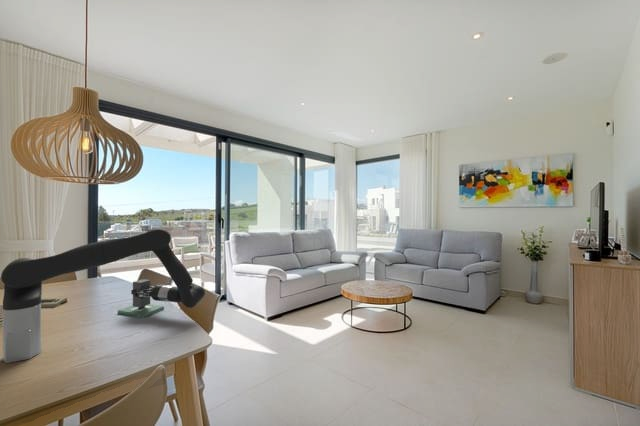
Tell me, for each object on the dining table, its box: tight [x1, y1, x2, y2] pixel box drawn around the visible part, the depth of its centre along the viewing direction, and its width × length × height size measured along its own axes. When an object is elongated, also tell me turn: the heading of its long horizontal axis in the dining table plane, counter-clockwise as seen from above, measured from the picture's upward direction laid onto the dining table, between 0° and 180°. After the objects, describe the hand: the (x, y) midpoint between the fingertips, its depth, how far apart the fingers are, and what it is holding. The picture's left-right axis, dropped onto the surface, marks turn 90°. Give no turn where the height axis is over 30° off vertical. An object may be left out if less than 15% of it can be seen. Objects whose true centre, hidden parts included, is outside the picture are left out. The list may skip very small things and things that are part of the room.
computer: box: [41, 297, 68, 308], centre depth 152 cm, size 16×8×3 cm, turn 97°
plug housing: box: [132, 278, 151, 307], centre depth 144 cm, size 5×6×12 cm
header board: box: [117, 303, 165, 318], centre depth 145 cm, size 16×12×6 cm
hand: (137, 290), depth 145 cm, fingers closed on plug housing, 5 cm apart
